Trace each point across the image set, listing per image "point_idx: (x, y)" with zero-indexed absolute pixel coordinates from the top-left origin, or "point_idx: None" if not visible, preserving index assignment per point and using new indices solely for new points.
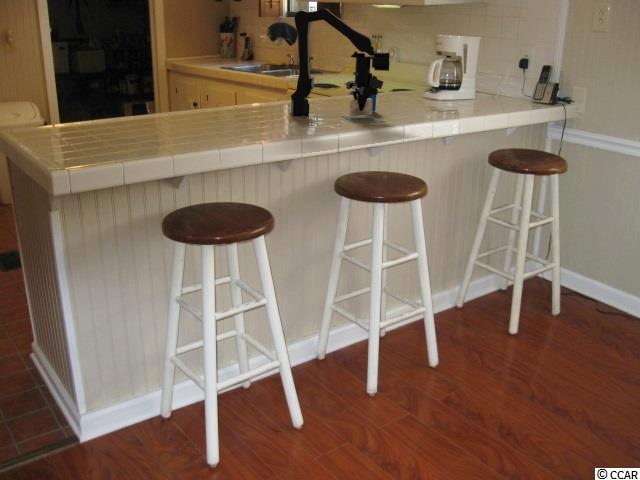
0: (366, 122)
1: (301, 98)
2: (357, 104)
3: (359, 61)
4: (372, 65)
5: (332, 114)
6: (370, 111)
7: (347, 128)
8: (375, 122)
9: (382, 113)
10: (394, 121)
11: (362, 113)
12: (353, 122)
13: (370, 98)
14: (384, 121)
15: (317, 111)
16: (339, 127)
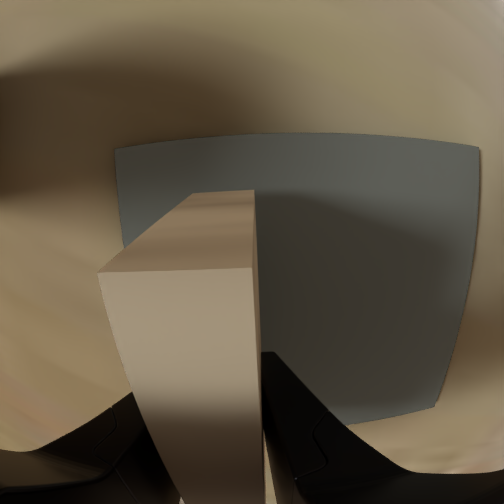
0: (458, 327)
1: None
2: (264, 465)
3: None
4: None
5: (70, 422)
6: (255, 227)
7: (492, 431)
8: (471, 247)
9: (19, 27)
10: (421, 31)
11: (260, 329)
12: (419, 409)
13: (112, 285)
14: (470, 151)
15: (15, 434)
16: (460, 458)
